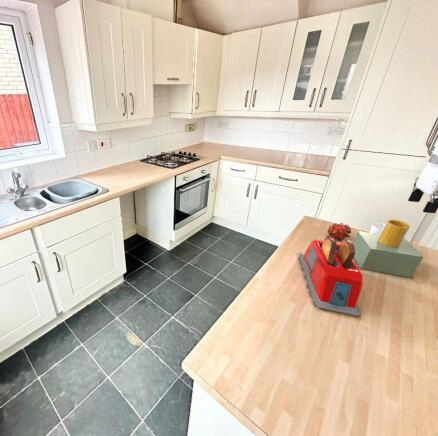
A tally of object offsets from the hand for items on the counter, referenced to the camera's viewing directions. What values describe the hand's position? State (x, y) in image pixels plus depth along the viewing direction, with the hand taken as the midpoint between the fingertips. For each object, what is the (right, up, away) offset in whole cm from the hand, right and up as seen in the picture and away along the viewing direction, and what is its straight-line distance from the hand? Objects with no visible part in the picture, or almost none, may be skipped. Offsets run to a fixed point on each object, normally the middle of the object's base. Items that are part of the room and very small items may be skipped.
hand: (420, 206), depth 89 cm
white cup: (+6, -17, +25) cm, 31 cm away
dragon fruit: (-7, -14, +31) cm, 35 cm away
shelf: (-3, -23, +14) cm, 27 cm away
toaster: (-32, -29, +5) cm, 43 cm away
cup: (-3, -14, +9) cm, 17 cm away
